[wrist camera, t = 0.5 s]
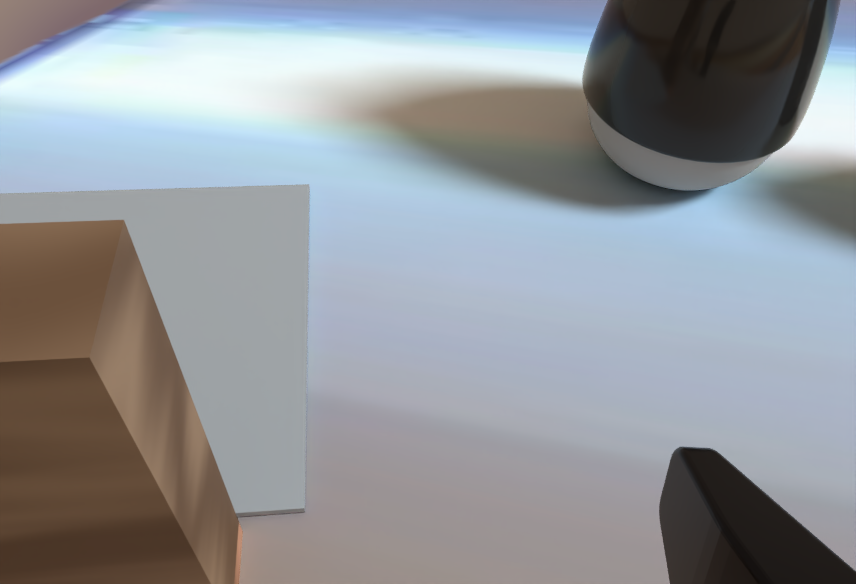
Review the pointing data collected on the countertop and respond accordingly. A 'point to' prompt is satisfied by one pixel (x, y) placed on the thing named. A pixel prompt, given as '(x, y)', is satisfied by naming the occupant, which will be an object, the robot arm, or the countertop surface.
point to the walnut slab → (99, 423)
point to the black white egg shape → (703, 84)
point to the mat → (222, 315)
